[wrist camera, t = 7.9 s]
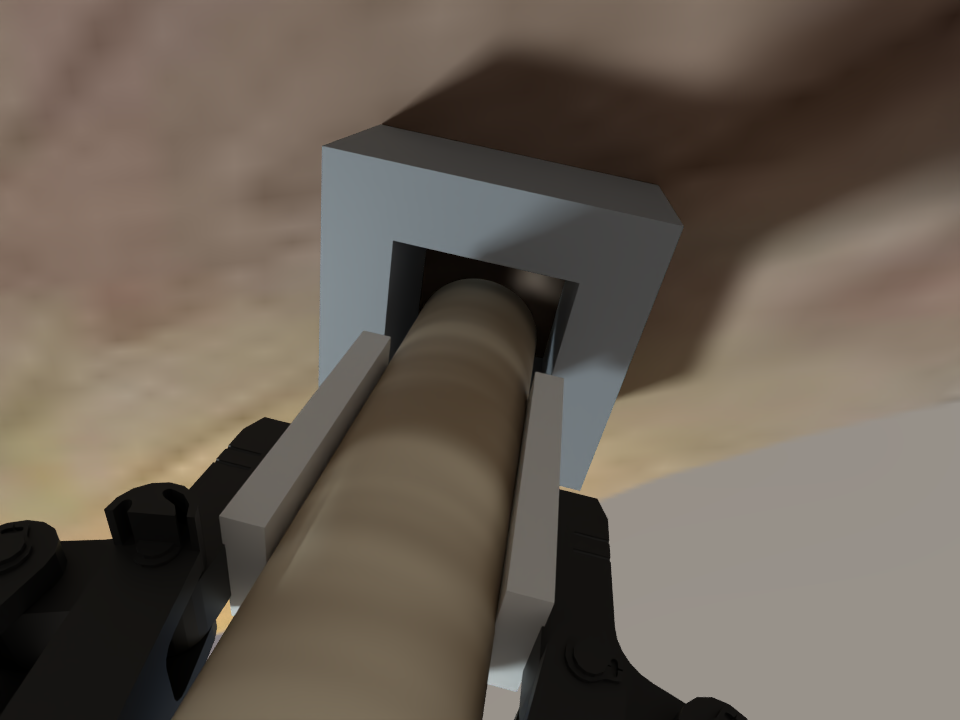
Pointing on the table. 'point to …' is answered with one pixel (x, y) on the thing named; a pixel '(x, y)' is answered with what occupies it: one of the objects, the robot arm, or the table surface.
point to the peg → (394, 539)
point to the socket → (494, 255)
